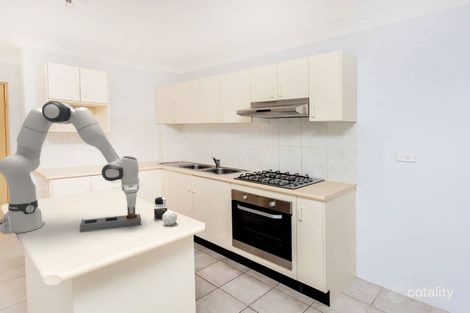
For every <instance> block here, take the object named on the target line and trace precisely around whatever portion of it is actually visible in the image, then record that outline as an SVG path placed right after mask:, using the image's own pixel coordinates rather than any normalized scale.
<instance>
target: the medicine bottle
mask: <svg viewBox="0 0 470 313" xmlns="http://www.w3.org/2000/svg"><path fill="white" fill-rule="evenodd" d="M166 200H167V199H166V197H162V196H159V197H156V198H154V205H153V217H154V218H153V219H154V221H163V220H162V217H163V214H164V213H165V212H166V211H168V204H167V201H166Z"/></svg>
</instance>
